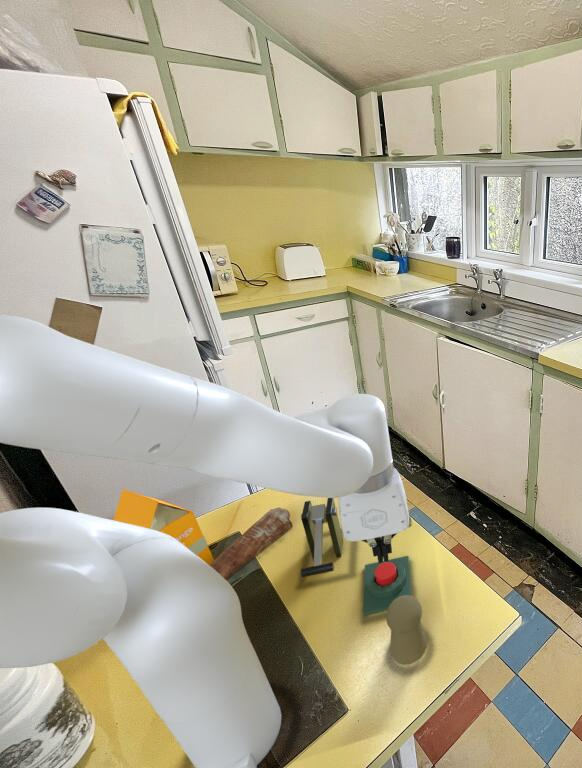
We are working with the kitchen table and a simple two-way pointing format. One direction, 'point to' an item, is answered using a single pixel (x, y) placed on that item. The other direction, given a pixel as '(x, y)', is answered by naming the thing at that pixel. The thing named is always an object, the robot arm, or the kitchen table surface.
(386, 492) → the robot arm
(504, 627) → the kitchen table surface
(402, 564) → the button box
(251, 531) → the salami
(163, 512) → the orange juice
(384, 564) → the button
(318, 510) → the lever
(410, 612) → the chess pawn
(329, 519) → the bracket
